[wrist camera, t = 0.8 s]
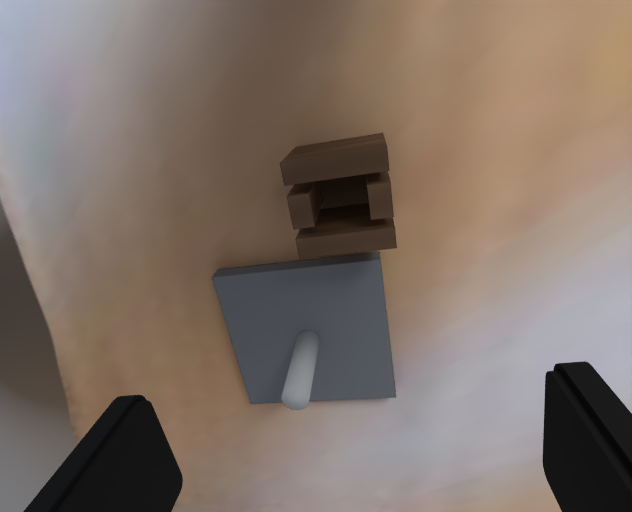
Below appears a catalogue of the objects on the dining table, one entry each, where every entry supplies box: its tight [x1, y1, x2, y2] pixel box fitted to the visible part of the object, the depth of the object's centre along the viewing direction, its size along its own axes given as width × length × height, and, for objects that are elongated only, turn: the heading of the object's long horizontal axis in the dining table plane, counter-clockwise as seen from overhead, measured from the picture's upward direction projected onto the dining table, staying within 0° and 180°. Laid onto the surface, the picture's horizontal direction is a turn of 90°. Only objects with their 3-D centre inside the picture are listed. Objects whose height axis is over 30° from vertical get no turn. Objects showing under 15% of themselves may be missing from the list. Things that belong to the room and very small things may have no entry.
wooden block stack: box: [280, 133, 397, 259], centre depth 27 cm, size 6×6×6 cm
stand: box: [212, 252, 396, 410], centre depth 32 cm, size 14×14×8 cm
